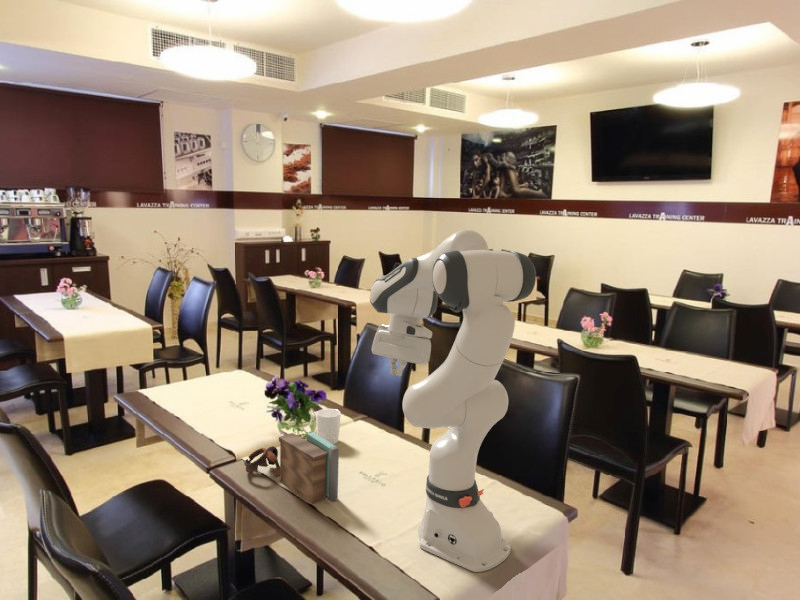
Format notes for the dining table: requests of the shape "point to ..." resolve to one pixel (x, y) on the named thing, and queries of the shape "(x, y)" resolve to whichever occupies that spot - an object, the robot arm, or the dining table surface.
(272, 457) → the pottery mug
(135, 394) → the dining table surface
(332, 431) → the white cup
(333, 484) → the teal square slab
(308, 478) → the wooden board
